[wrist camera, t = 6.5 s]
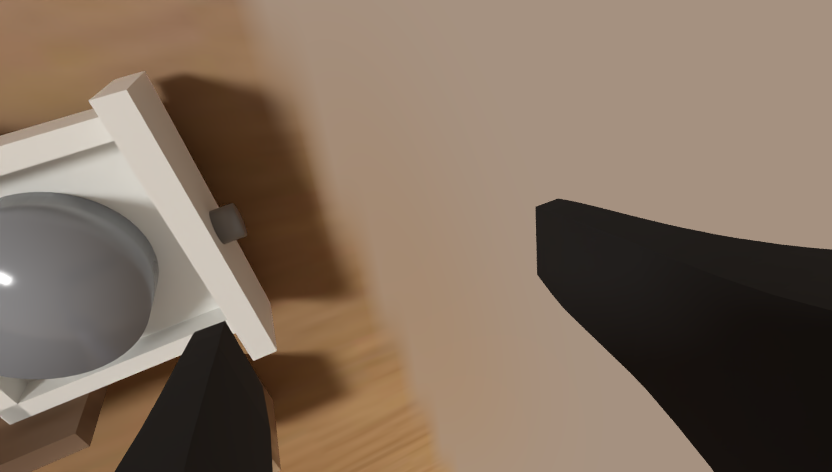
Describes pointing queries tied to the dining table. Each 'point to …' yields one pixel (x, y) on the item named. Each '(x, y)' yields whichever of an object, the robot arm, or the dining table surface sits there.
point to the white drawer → (155, 217)
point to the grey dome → (70, 285)
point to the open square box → (50, 433)
